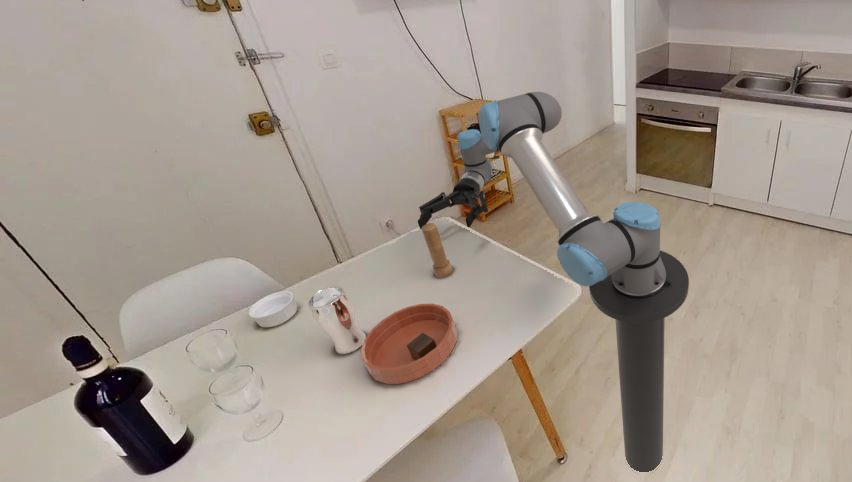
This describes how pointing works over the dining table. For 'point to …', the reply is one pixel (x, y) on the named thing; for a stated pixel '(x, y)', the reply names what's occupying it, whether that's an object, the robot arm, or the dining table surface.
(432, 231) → the muddler
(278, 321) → the ramekin
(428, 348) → the walnut block
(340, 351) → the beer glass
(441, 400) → the dining table surface
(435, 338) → the bowl
